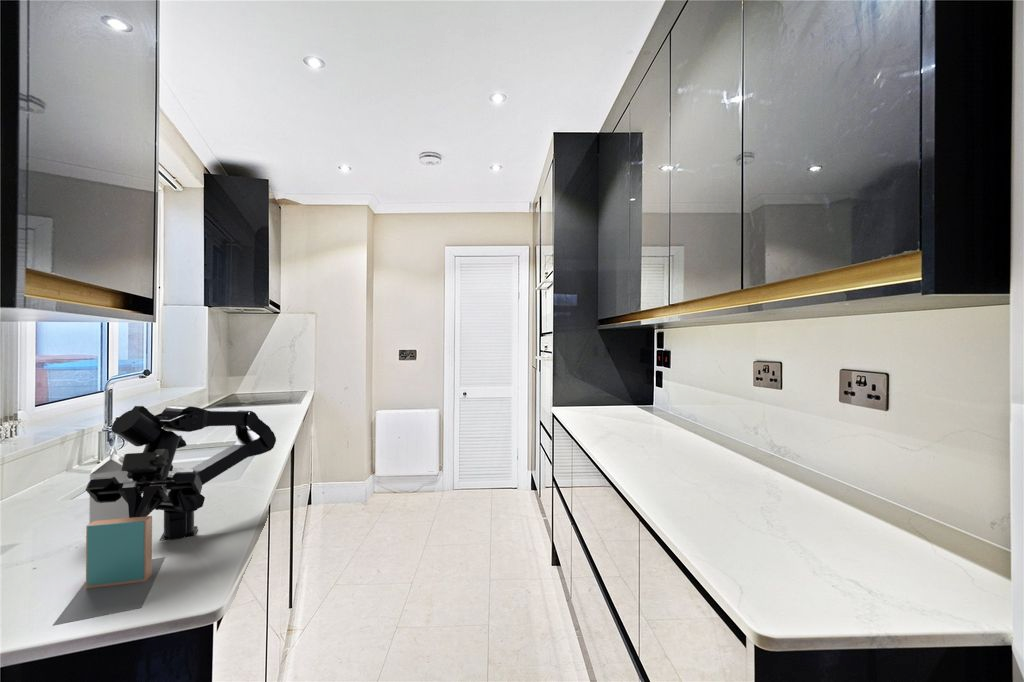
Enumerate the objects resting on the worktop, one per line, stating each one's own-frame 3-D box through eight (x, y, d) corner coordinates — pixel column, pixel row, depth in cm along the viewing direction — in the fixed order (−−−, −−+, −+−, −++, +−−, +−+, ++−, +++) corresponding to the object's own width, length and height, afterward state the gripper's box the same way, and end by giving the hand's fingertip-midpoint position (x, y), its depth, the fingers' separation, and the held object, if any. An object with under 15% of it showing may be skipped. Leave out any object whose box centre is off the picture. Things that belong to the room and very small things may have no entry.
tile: (93, 581, 88) (94, 520, 88) (151, 574, 90) (152, 515, 90) (84, 589, 85) (85, 526, 85) (145, 582, 88) (145, 521, 88)
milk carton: (88, 543, 106) (89, 456, 106) (92, 532, 112) (93, 450, 112) (130, 535, 110) (130, 452, 110) (131, 526, 116) (132, 446, 116)
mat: (95, 571, 93) (95, 568, 93) (165, 559, 98) (165, 556, 98) (52, 629, 74) (52, 625, 74) (141, 611, 79) (141, 607, 79)
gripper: (90, 437, 96) (54, 512, 86) (197, 433, 101) (175, 503, 90) (112, 467, 104) (81, 539, 93) (210, 461, 109) (191, 529, 98)
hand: (132, 527), depth 94 cm, fingers closed
